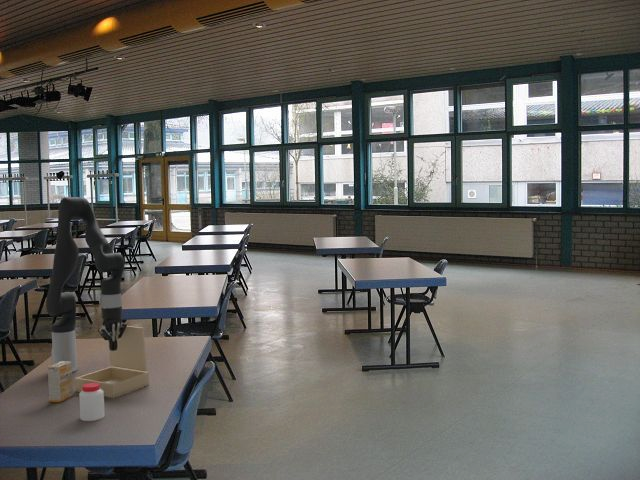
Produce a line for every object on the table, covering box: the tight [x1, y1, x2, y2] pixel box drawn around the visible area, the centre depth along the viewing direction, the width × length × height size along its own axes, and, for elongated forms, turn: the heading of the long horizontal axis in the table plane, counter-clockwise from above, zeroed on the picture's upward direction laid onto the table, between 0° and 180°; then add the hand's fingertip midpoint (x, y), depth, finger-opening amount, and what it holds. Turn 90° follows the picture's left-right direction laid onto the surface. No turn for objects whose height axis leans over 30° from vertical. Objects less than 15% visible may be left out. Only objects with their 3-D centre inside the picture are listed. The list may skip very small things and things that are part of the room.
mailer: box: [74, 366, 150, 399], centre depth 257 cm, size 20×18×5 cm
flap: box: [107, 325, 148, 372], centre depth 263 cm, size 19×17×1 cm
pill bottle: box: [78, 383, 106, 422], centre depth 224 cm, size 8×8×11 cm
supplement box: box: [47, 361, 74, 403], centre depth 244 cm, size 8×5×13 cm, turn 168°
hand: (113, 350), depth 257 cm, fingers closed
